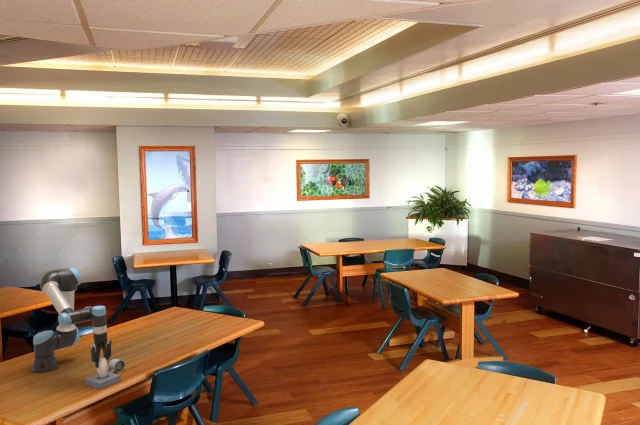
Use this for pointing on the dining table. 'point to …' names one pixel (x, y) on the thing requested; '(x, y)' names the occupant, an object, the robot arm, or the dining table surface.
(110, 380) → the bore block
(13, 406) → the dining table surface
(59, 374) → the dining table surface
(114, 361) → the ceramic mug
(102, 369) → the dowel pin
